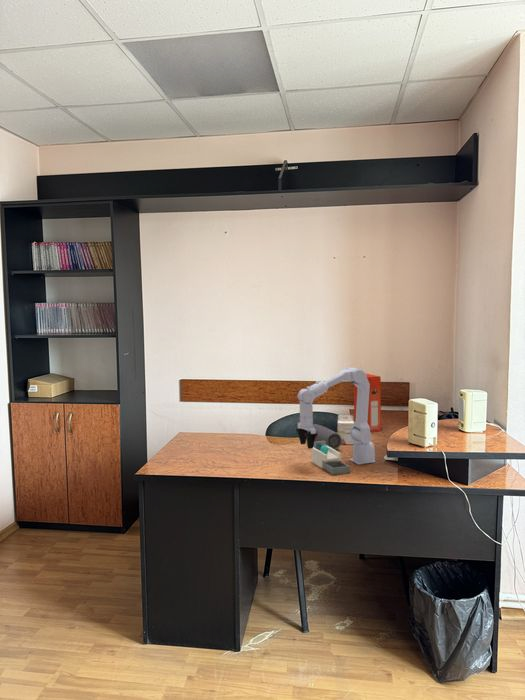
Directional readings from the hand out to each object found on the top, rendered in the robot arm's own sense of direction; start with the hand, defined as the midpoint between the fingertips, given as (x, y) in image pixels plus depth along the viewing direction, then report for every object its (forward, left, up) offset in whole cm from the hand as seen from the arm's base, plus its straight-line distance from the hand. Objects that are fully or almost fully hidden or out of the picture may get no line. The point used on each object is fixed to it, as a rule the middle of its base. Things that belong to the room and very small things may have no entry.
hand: (306, 446), depth 215 cm
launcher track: (-10, -1, -10) cm, 14 cm away
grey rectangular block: (-10, -7, -5) cm, 13 cm away
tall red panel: (-64, -53, -10) cm, 83 cm away
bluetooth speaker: (-23, -29, -10) cm, 38 cm away
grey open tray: (-10, +9, -10) cm, 17 cm away
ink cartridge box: (-36, -29, -10) cm, 47 cm away
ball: (-10, -2, -3) cm, 11 cm away
